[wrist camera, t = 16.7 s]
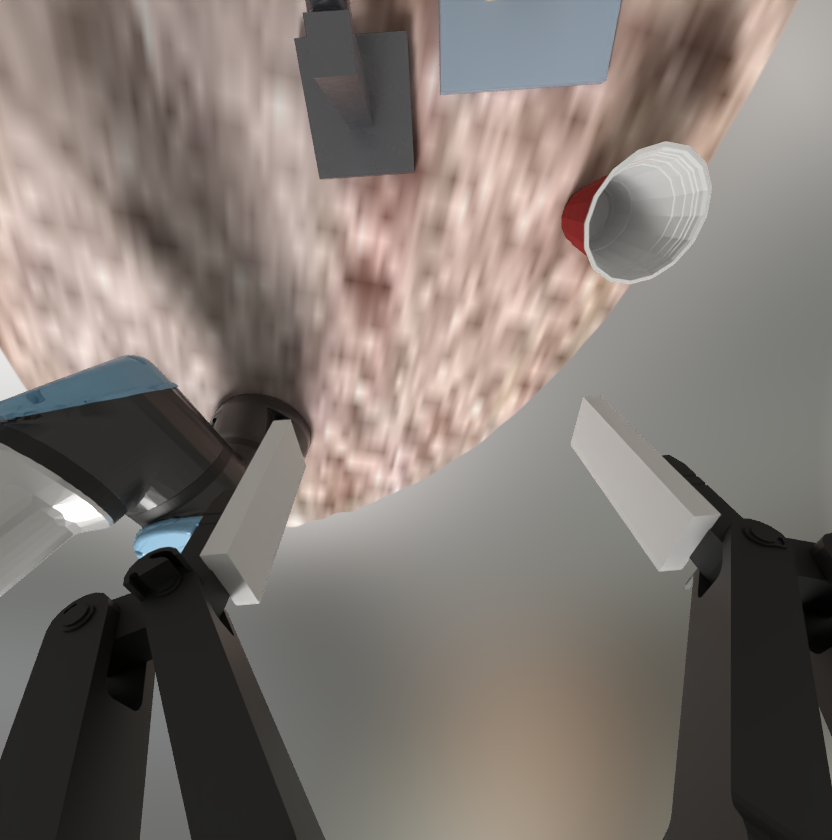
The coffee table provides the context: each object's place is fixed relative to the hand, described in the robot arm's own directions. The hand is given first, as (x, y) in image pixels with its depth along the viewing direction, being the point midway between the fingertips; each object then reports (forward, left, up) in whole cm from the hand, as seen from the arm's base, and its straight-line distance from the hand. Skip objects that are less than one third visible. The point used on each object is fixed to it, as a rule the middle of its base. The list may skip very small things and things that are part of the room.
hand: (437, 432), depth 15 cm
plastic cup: (+21, +6, -33) cm, 39 cm away
